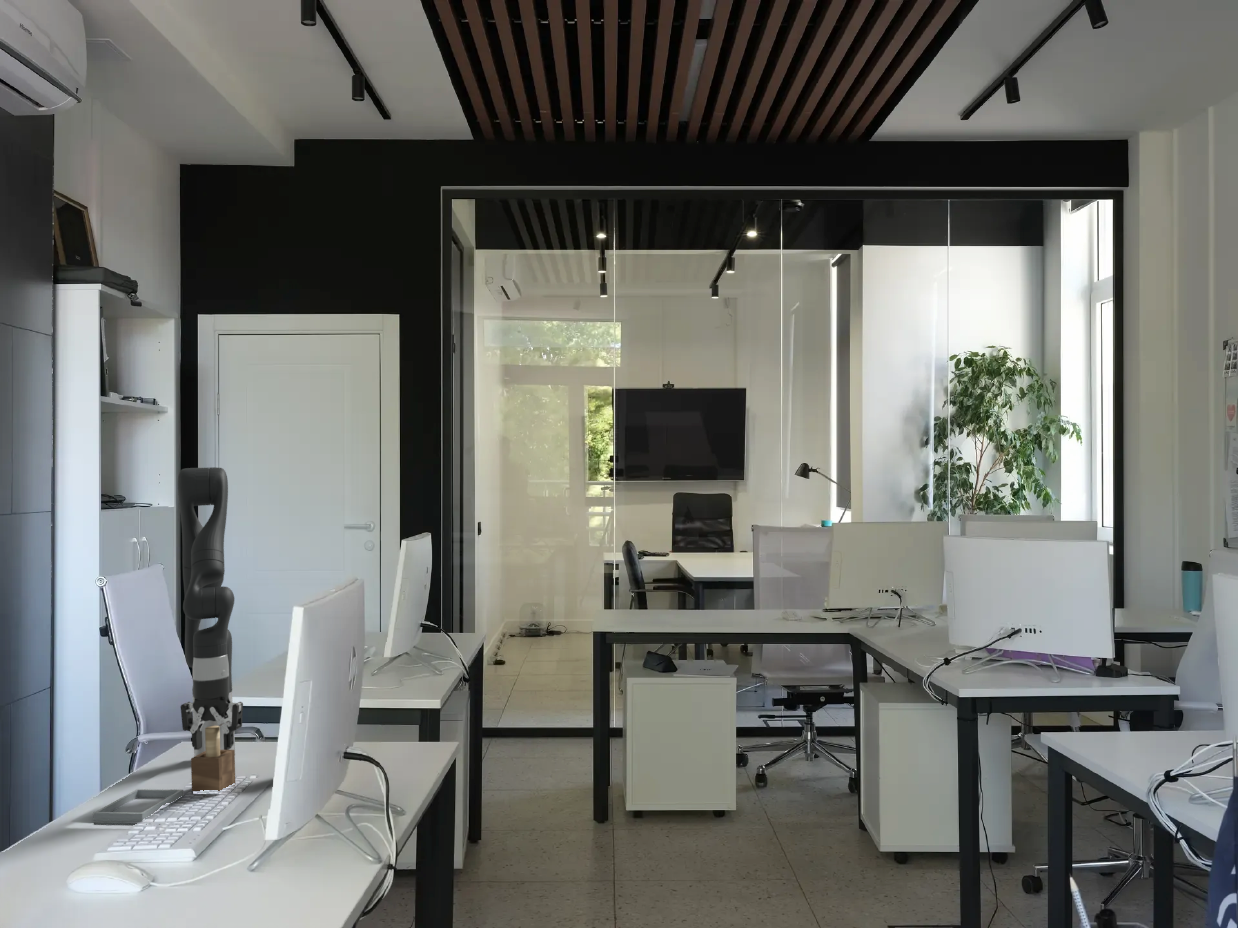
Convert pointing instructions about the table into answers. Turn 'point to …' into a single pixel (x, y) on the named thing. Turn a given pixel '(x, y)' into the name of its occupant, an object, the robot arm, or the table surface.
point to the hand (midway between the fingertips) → (212, 748)
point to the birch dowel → (212, 741)
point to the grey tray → (108, 815)
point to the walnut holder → (213, 771)
